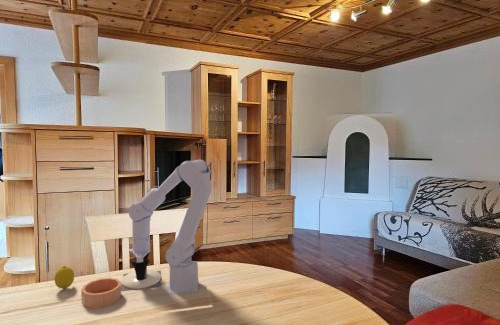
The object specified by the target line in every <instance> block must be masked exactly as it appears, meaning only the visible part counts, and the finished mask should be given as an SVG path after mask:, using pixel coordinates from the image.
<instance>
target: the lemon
mask: <svg viewBox="0 0 500 325" xmlns="http://www.w3.org/2000/svg"><path fill="white" fill-rule="evenodd" d="M74 280H75V273H74V270H73V268H71V266H66V265H63V266H61V267H60V268H58V269H57V270H56V272H55V275H54V283H55V286H56V287H57V288H59V289H62V290H67V288H69V287H70V286H71V285H72V284H73V283H74Z"/></svg>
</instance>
